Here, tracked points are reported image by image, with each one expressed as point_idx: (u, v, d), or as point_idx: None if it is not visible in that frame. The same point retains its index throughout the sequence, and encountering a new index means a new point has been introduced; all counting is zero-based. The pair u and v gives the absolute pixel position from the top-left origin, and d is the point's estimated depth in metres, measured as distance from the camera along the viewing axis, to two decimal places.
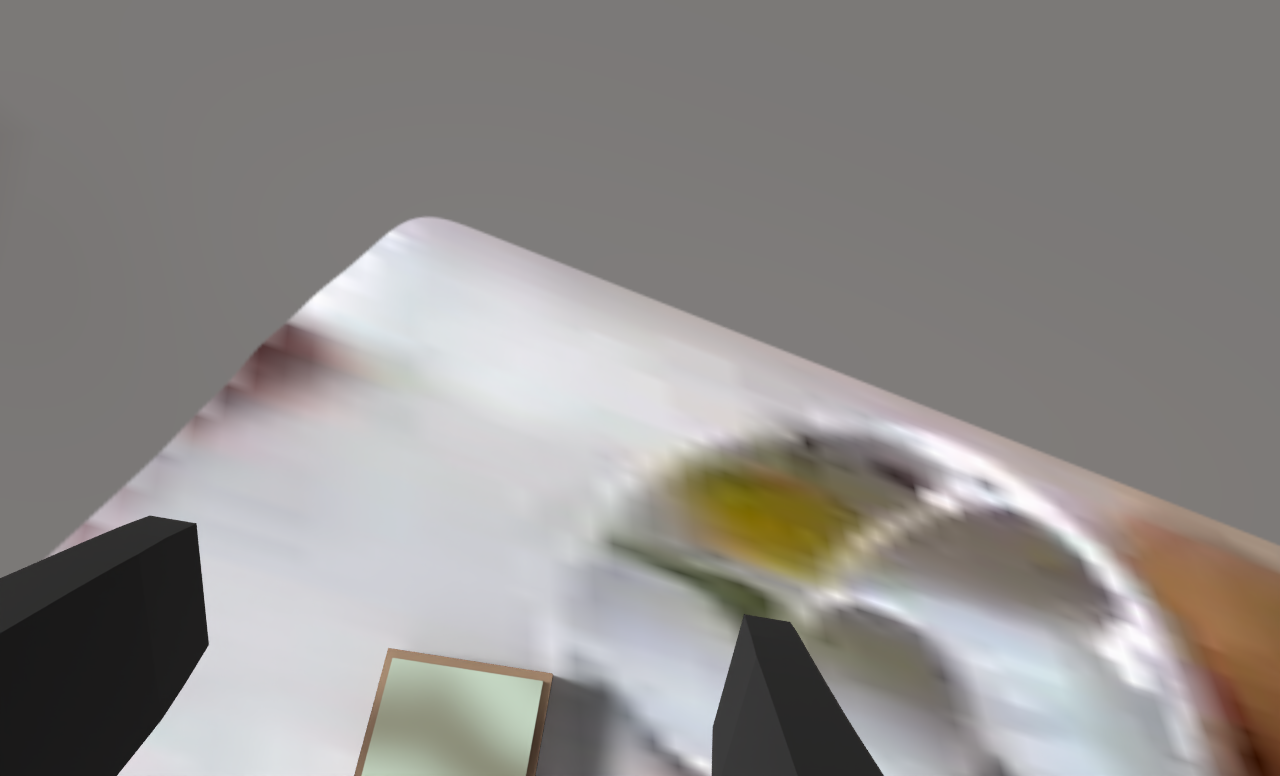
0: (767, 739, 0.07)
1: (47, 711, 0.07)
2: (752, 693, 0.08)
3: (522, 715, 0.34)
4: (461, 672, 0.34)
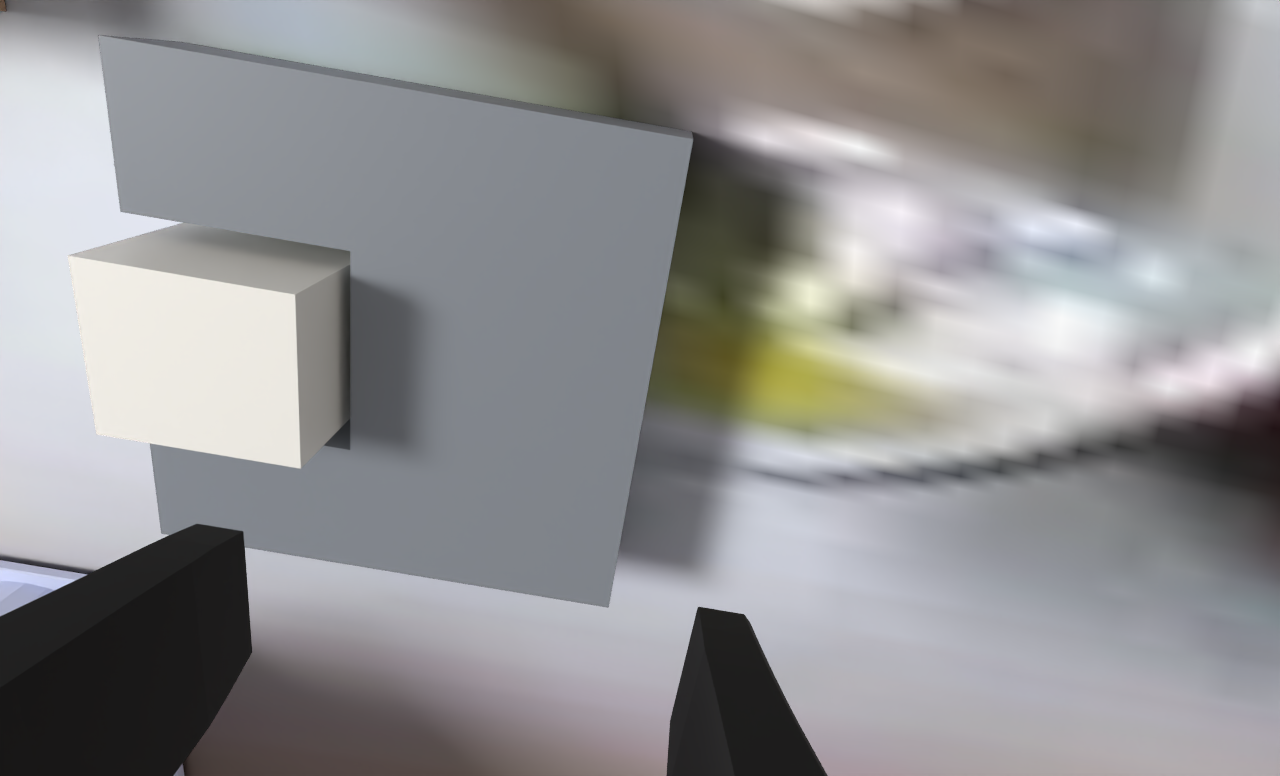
0: (710, 729, 0.07)
1: (106, 721, 0.07)
2: (700, 684, 0.08)
3: None
4: None
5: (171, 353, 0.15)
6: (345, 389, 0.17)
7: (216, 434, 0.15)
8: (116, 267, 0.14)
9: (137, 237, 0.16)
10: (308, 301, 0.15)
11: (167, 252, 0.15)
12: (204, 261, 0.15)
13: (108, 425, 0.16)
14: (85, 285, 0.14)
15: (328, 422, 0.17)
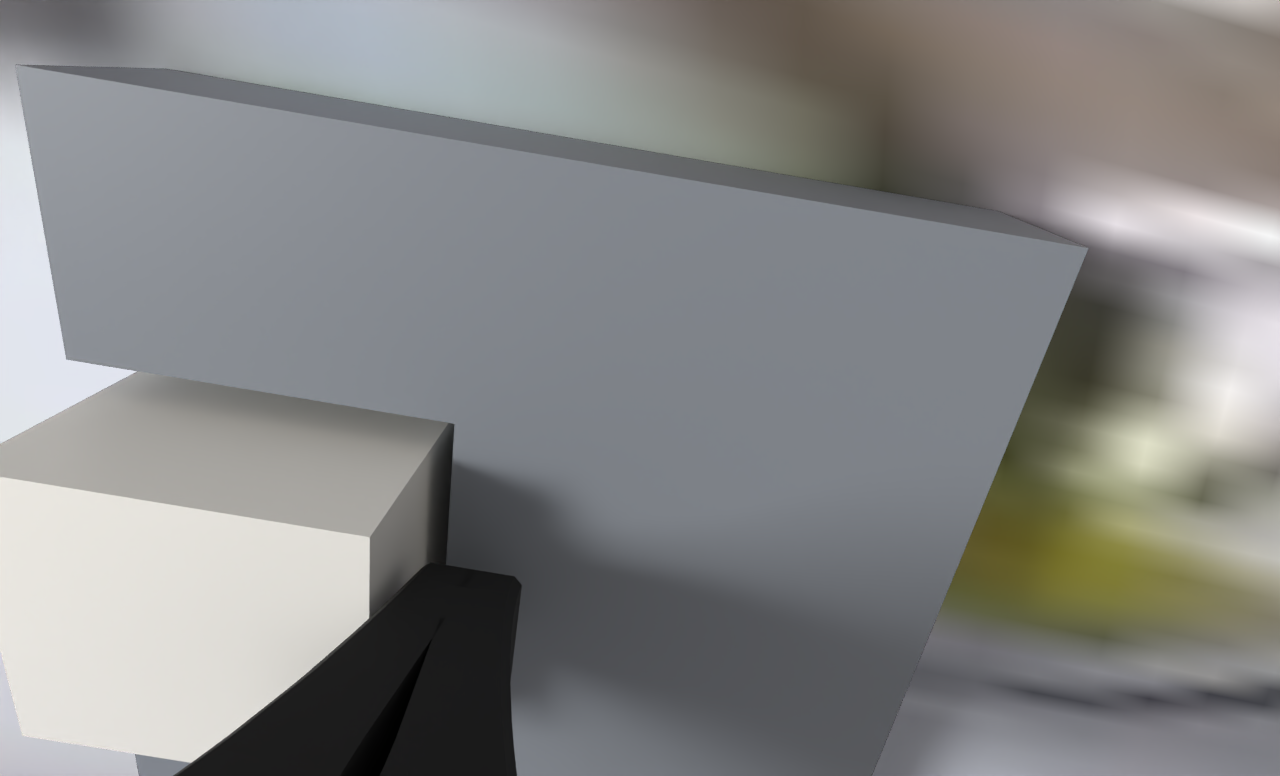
0: None
1: None
2: None
3: None
4: None
5: (145, 621, 0.08)
6: None
7: None
8: (42, 489, 0.08)
9: (91, 399, 0.09)
10: (388, 530, 0.08)
11: (140, 436, 0.09)
12: (204, 454, 0.09)
13: (41, 724, 0.09)
14: None
15: None
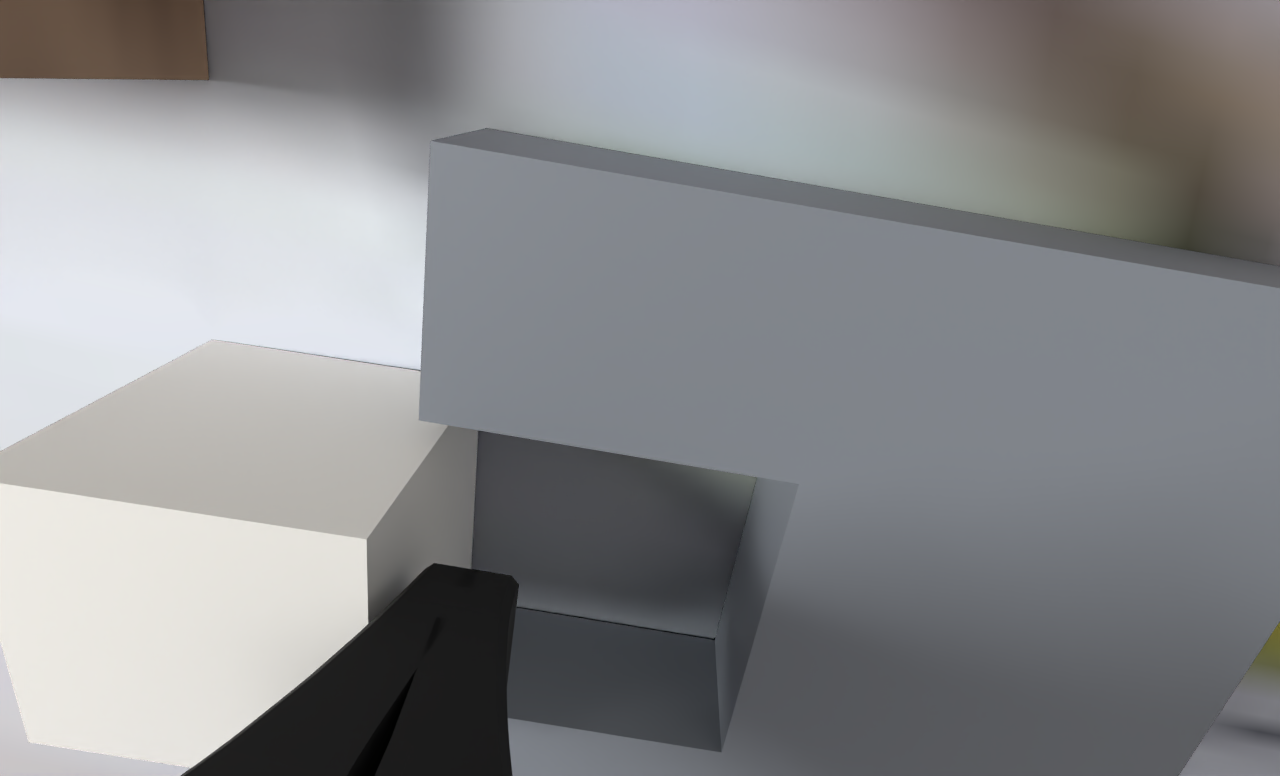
0: None
1: None
2: None
3: None
4: None
5: (146, 628, 0.08)
6: None
7: None
8: (41, 495, 0.08)
9: (93, 406, 0.09)
10: (385, 532, 0.08)
11: (140, 441, 0.09)
12: (203, 458, 0.09)
13: (47, 730, 0.09)
14: None
15: None
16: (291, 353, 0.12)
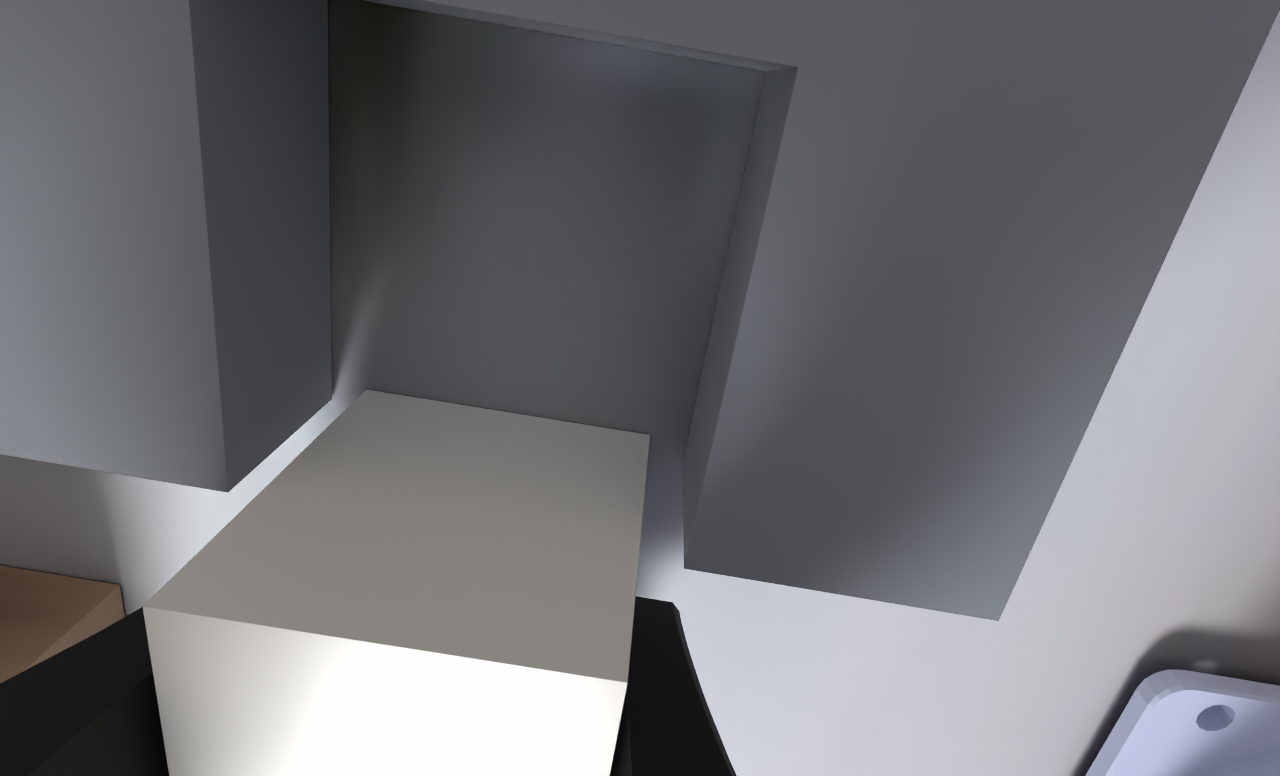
0: (621, 715, 0.07)
1: None
2: None
3: None
4: None
5: None
6: (562, 509, 0.08)
7: None
8: None
9: None
10: (218, 570, 0.06)
11: None
12: None
13: None
14: None
15: (588, 569, 0.07)
16: None
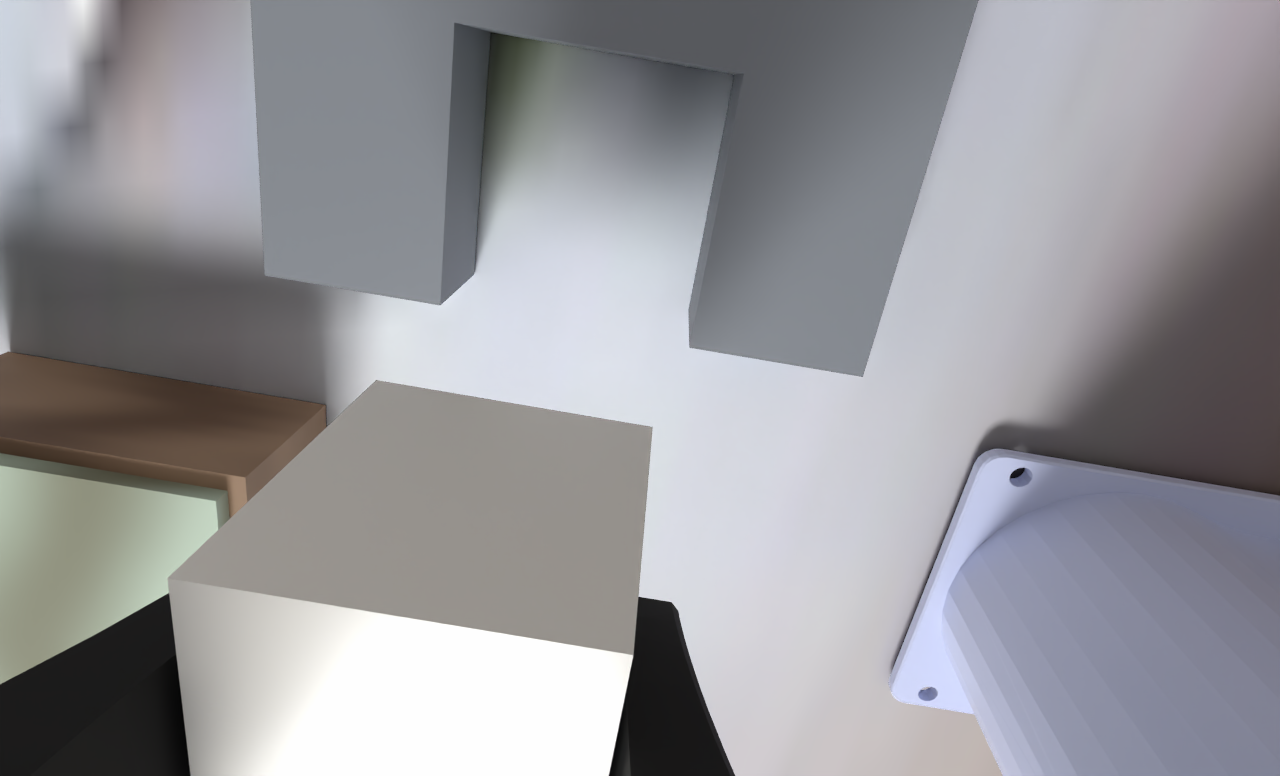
0: None
1: None
2: None
3: None
4: None
5: None
6: (567, 495, 0.08)
7: None
8: None
9: None
10: (238, 547, 0.07)
11: None
12: None
13: None
14: None
15: (594, 551, 0.07)
16: None
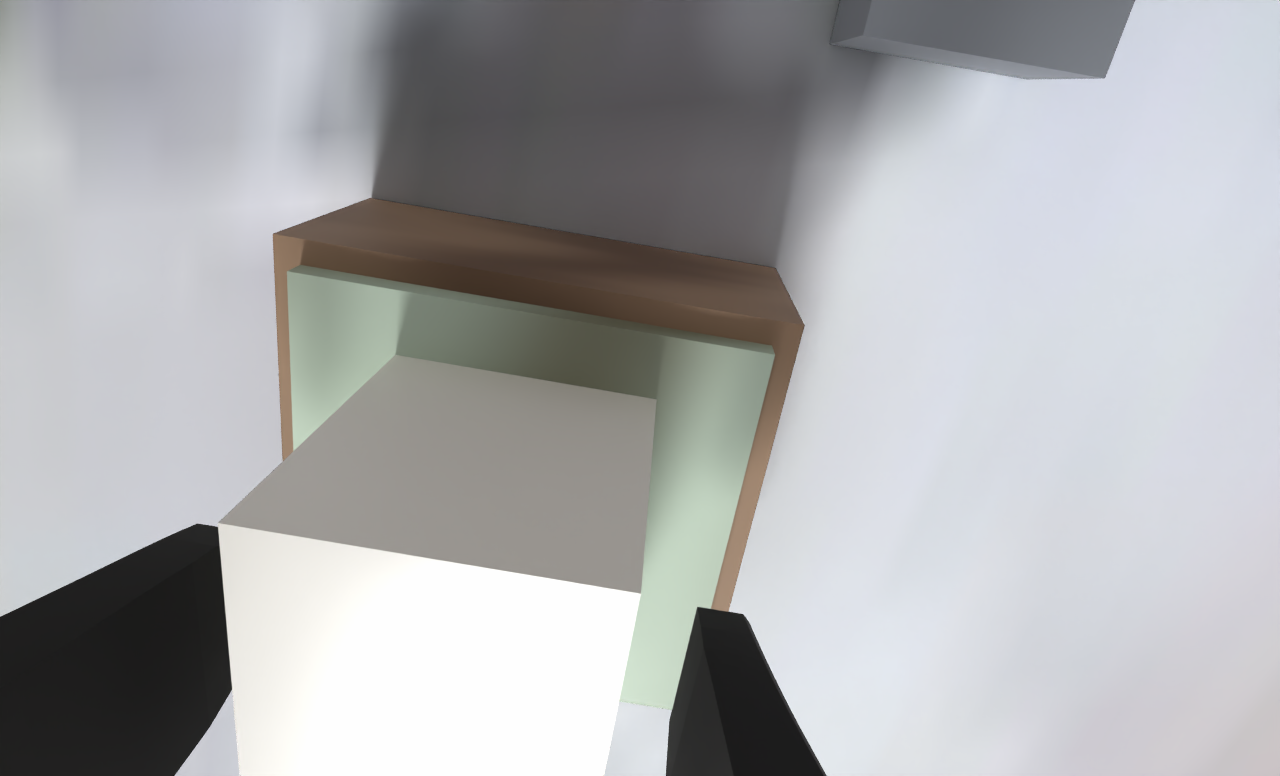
0: (709, 729, 0.07)
1: (106, 721, 0.07)
2: (699, 684, 0.08)
3: (396, 332, 0.11)
4: None
5: (394, 751, 0.08)
6: (577, 458, 0.09)
7: (564, 724, 0.07)
8: None
9: None
10: (278, 496, 0.07)
11: None
12: None
13: None
14: None
15: (604, 506, 0.08)
16: None
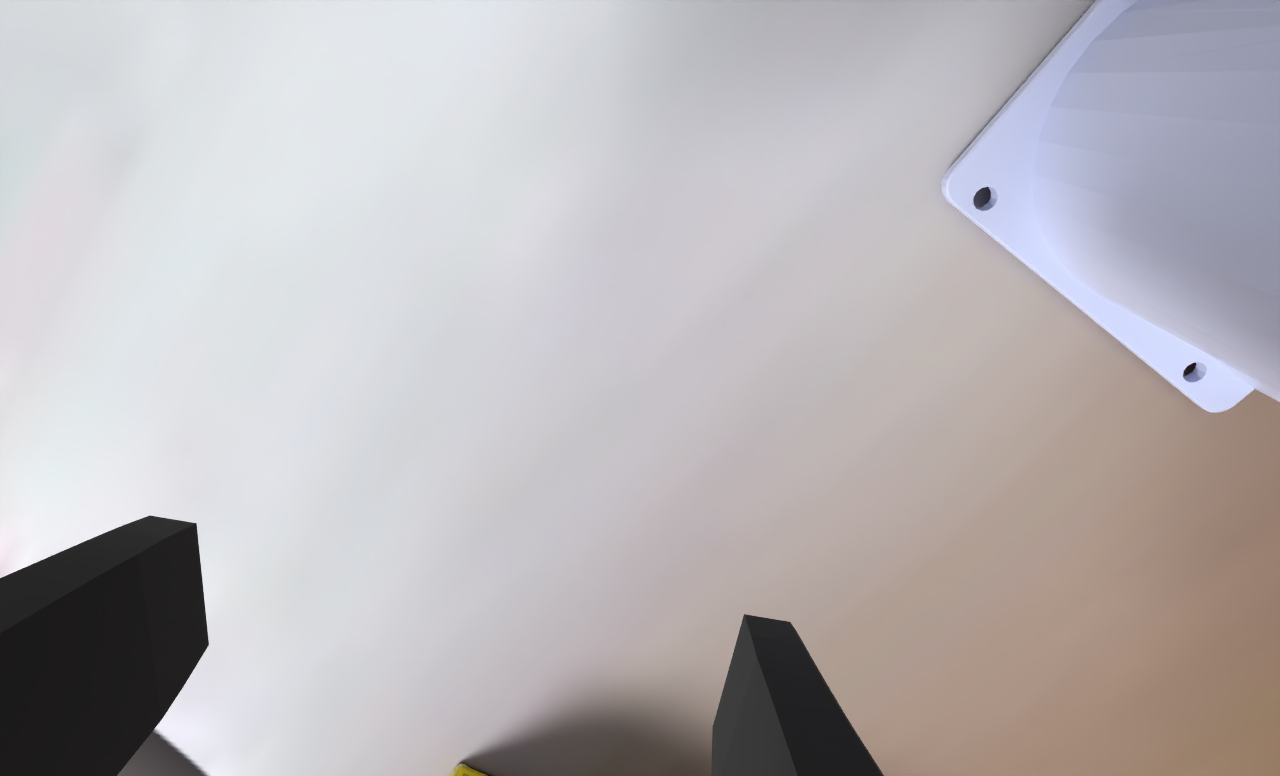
0: (767, 739, 0.07)
1: (47, 711, 0.07)
2: (752, 693, 0.08)
3: None
4: None
5: None
6: None
7: None
8: None
9: None
10: None
11: None
12: None
13: None
14: None
15: None
16: None
